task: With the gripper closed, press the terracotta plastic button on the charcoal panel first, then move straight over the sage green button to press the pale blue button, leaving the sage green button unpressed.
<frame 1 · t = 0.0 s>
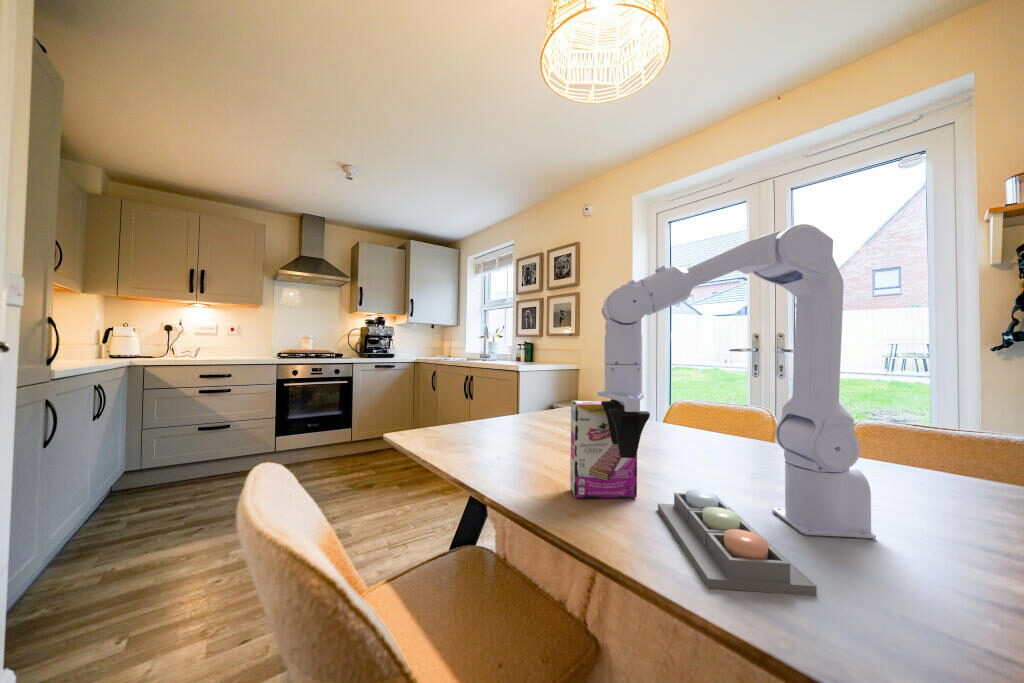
hand: (623, 450, 60), 10 cm above the table, fingers open, 7 cm apart
pale blue button: (701, 501, 57), point 3 cm above the table, slide at 0.0 cm
candy bar box: (603, 495, 68), on the table, touching gripper
sage button: (720, 521, 51), point 3 cm above the table, slide at 0.0 cm
button panel: (720, 543, 51), on the table
terracotta button: (745, 546, 44), point 3 cm above the table, slide at 0.0 cm
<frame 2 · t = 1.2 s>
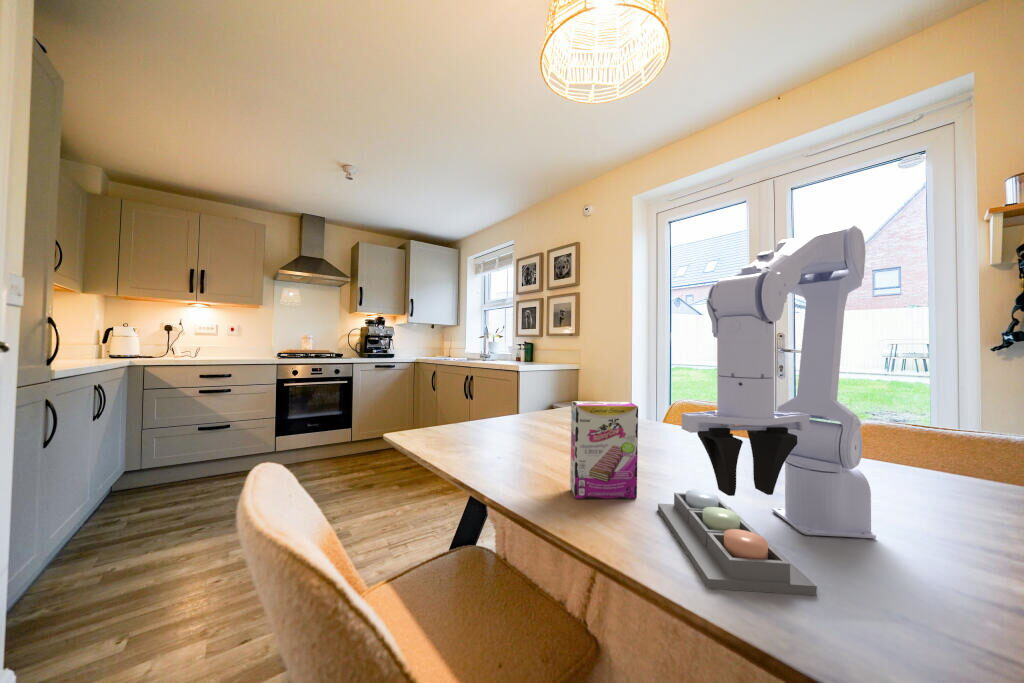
hand: (745, 492, 44), 9 cm above the table, fingers open, 4 cm apart
candy bar box: (603, 495, 68), on the table
everything else where it was.
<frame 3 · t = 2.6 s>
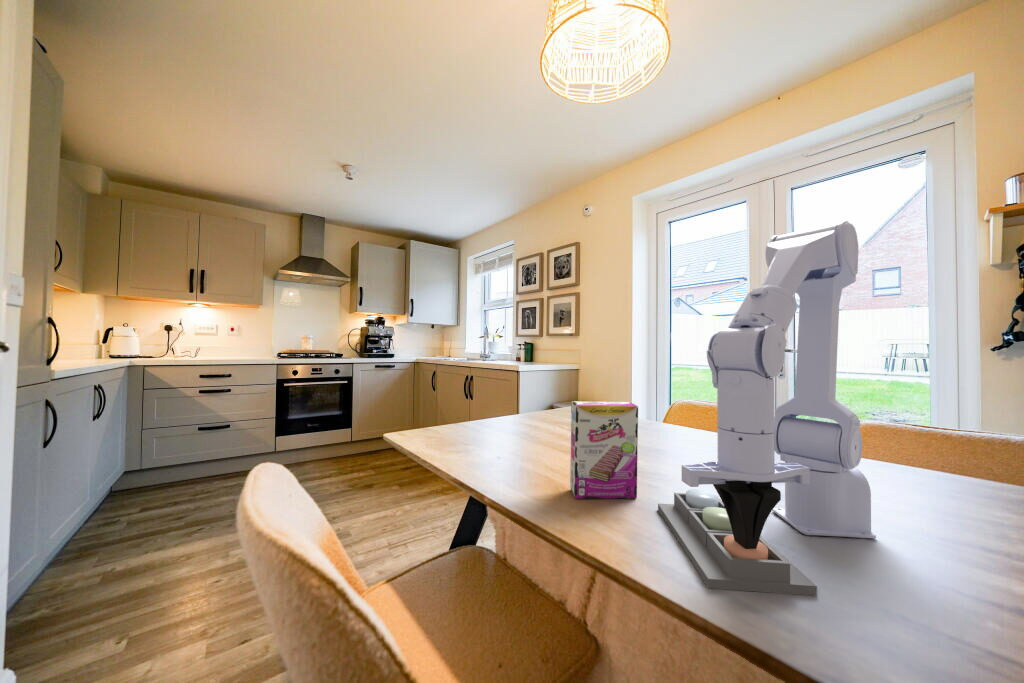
hand: (745, 545, 44), 3 cm above the table, fingers closed, pressing on terracotta button
terracotta button: (745, 552, 44), point 2 cm above the table, slide at 0.7 cm, touching gripper
everything else where it was.
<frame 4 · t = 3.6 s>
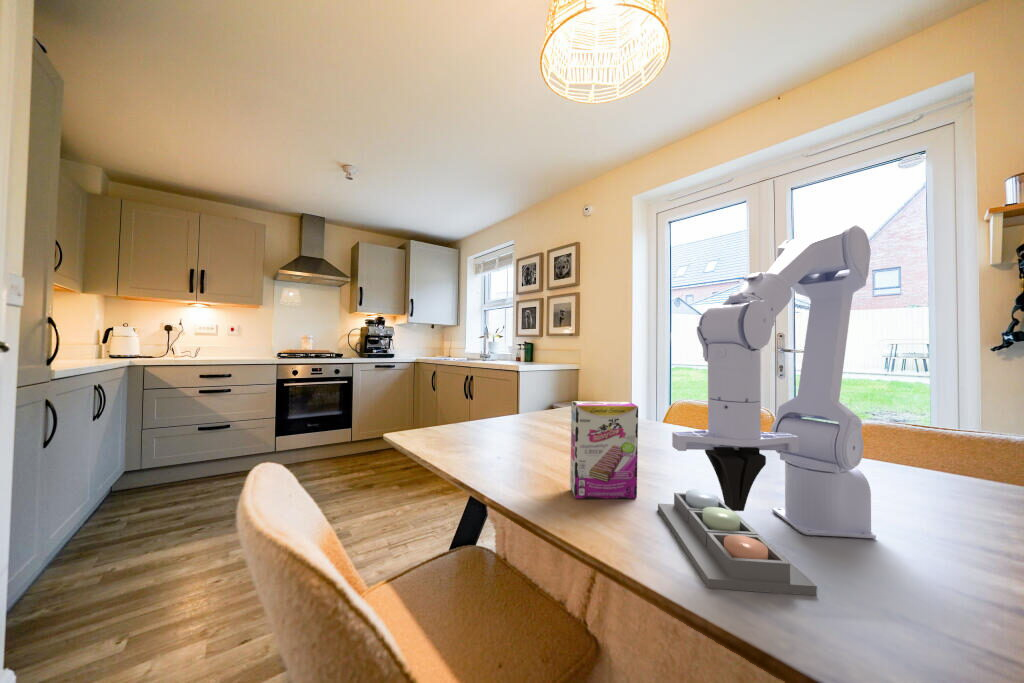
hand: (734, 507, 47), 6 cm above the table, fingers closed
terracotta button: (745, 552, 44), point 2 cm above the table, slide at 0.7 cm
everything else where it was.
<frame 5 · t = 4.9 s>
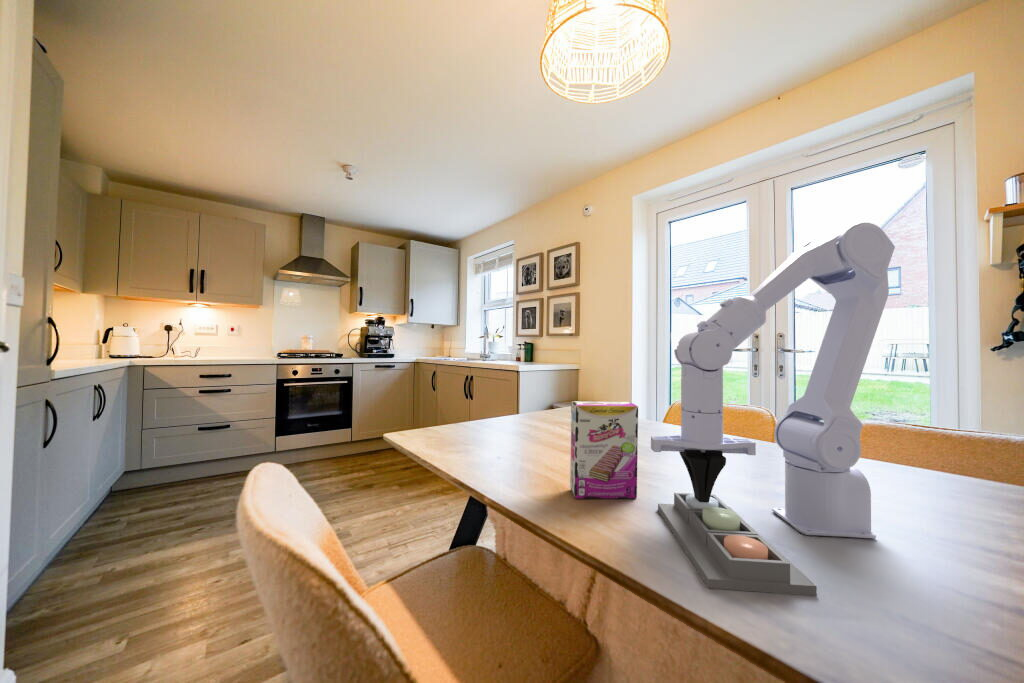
hand: (701, 500, 57), 3 cm above the table, fingers closed, pressing on pale blue button
pale blue button: (701, 506, 57), point 2 cm above the table, slide at 0.7 cm, touching gripper
everything else where it was.
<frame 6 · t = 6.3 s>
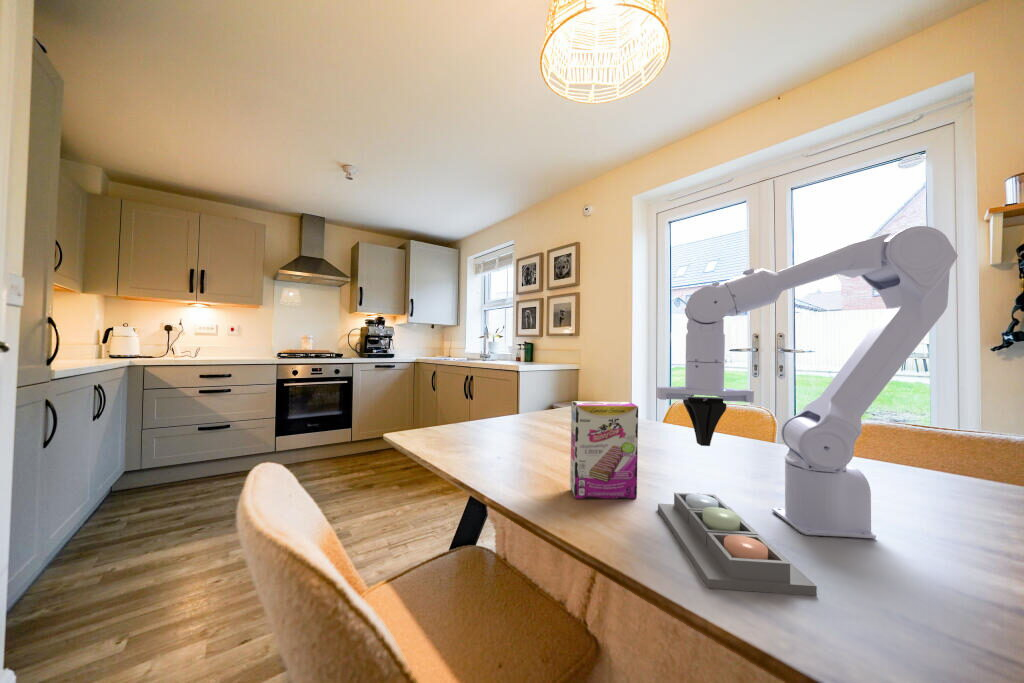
hand: (703, 444, 62), 10 cm above the table, fingers closed
pale blue button: (701, 506, 57), point 2 cm above the table, slide at 0.7 cm
everything else where it was.
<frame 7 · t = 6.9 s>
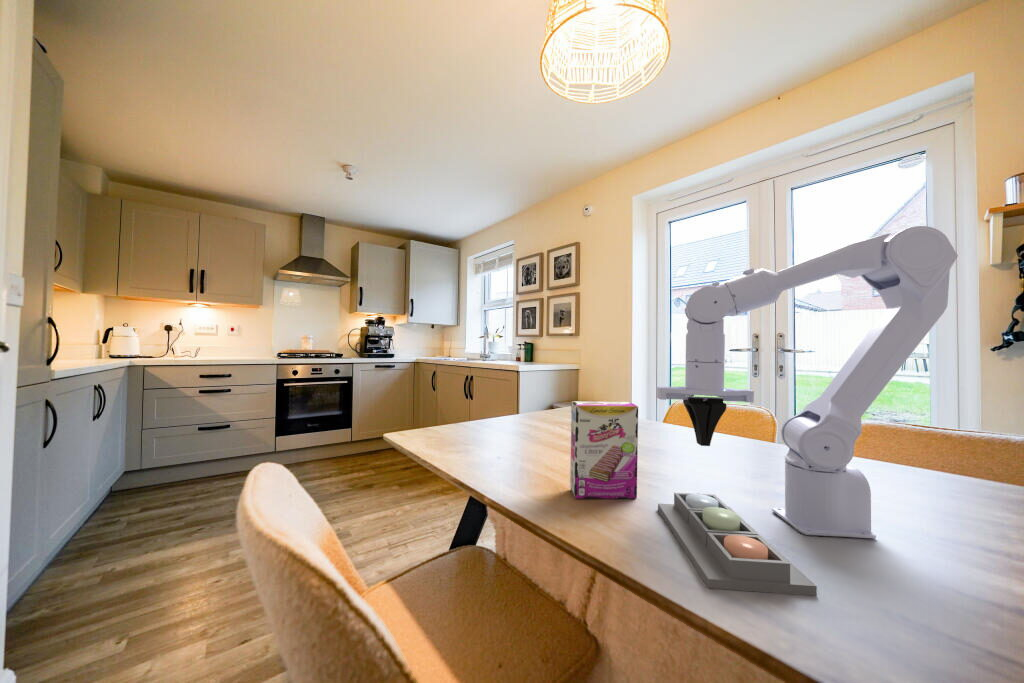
hand: (703, 444, 62), 10 cm above the table, fingers closed
nothing on the table moved.
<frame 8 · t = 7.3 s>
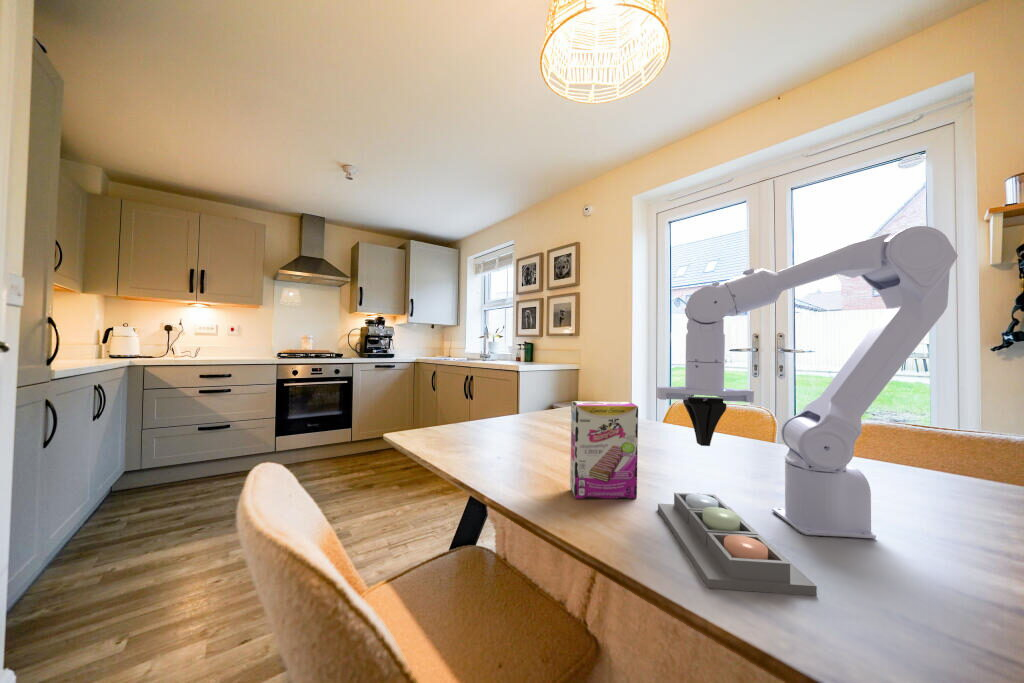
hand: (703, 444, 62), 10 cm above the table, fingers closed
nothing on the table moved.
at the end: terracotta button slide at 0.7 cm; pale blue button slide at 0.7 cm; sage button slide at 0.0 cm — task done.
